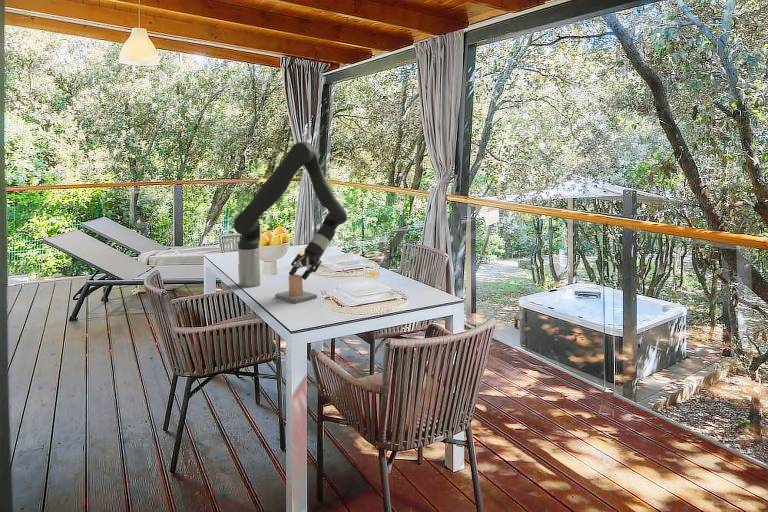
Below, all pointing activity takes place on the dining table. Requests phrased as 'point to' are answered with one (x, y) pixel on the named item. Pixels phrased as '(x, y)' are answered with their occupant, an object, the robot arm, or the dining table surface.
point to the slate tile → (296, 297)
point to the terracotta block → (295, 285)
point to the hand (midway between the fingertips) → (296, 277)
